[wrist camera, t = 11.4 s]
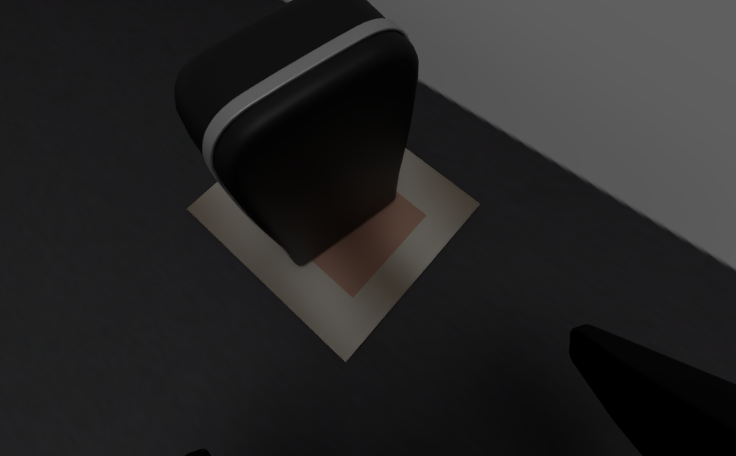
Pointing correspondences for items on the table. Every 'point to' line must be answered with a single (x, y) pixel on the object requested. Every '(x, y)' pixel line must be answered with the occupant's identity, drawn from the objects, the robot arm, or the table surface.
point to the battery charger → (304, 118)
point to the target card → (349, 254)
